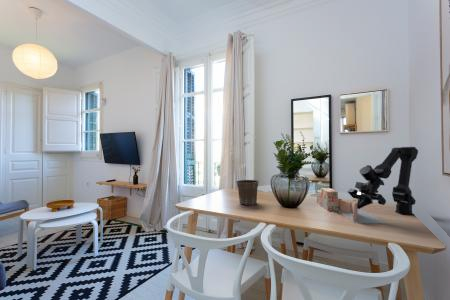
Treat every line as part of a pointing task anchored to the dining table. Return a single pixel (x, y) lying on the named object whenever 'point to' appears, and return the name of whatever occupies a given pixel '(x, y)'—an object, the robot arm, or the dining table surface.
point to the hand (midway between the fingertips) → (357, 208)
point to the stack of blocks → (327, 199)
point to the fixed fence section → (344, 206)
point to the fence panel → (355, 211)
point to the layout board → (362, 217)
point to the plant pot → (247, 191)
